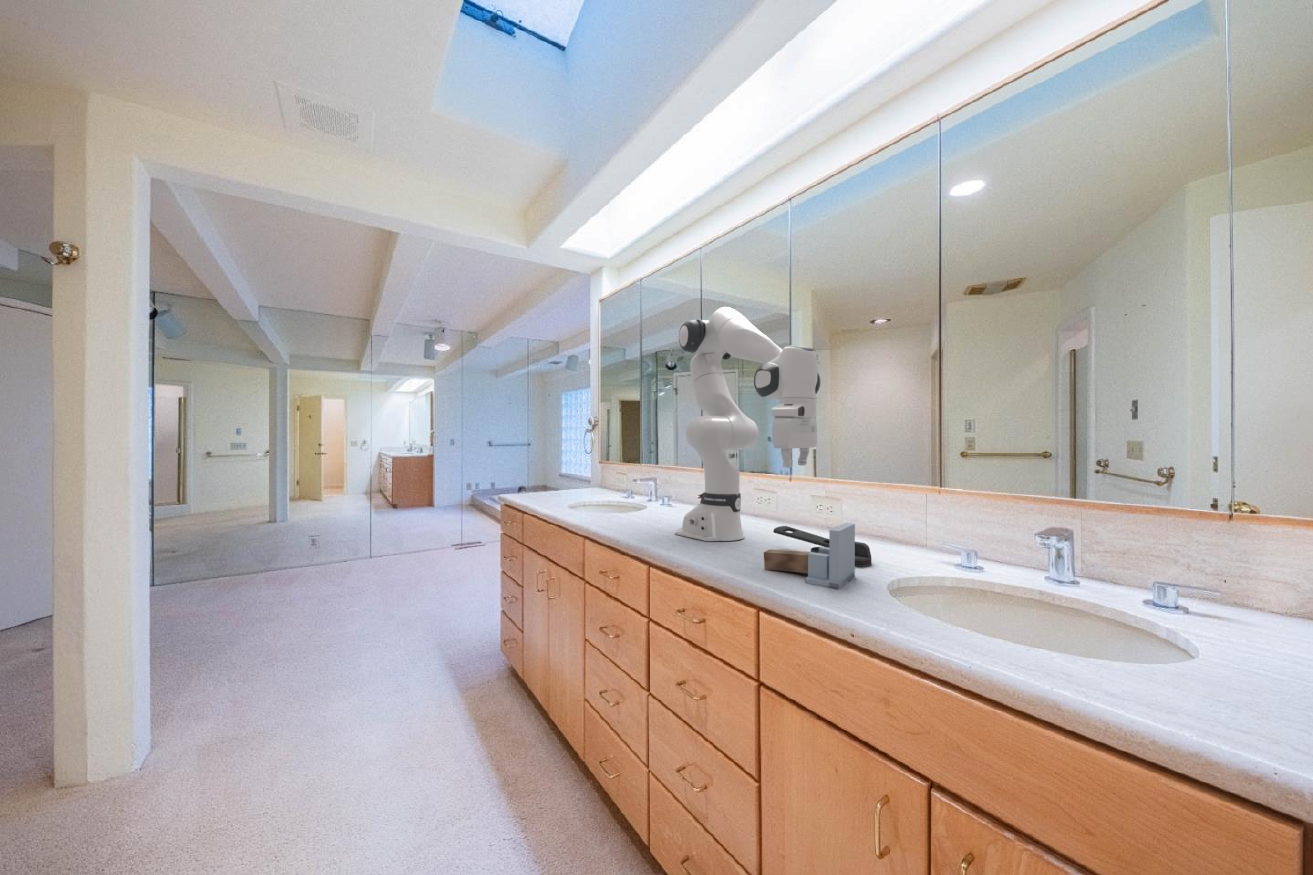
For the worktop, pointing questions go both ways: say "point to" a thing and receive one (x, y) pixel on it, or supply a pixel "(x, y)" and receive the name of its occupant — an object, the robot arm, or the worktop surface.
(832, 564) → the post block
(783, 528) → the black stapler
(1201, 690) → the worktop surface
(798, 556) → the brown long rectangular block
